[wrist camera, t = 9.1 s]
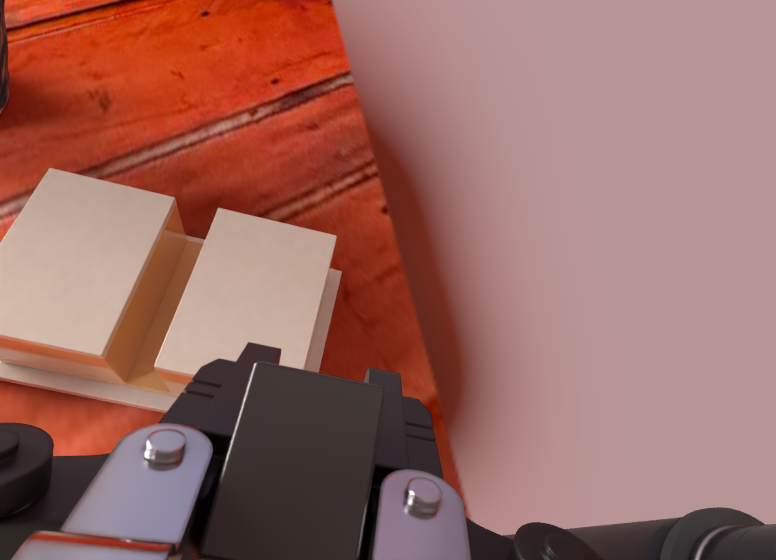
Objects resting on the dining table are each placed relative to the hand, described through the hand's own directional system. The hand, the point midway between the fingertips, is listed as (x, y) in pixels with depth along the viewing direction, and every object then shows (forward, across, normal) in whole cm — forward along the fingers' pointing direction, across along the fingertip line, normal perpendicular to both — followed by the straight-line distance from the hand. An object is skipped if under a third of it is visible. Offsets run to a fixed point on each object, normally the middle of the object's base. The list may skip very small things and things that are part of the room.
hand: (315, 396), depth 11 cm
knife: (+9, 0, +12) cm, 15 cm away
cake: (+27, +11, +11) cm, 31 cm away
